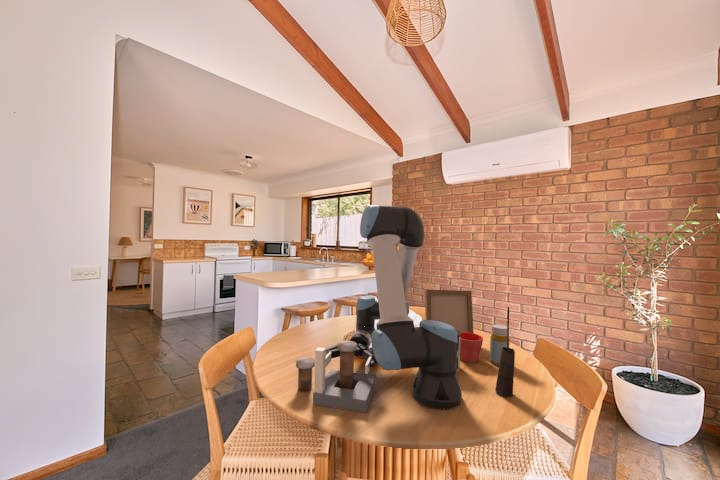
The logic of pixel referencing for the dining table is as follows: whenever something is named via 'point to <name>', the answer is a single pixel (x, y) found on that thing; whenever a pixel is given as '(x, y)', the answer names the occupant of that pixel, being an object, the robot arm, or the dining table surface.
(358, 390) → the hole block
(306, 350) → the dining table surface
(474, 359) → the flower pot
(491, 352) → the bottle
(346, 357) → the long pin
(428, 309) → the photo frame
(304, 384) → the short pin
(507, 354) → the walkie talkie
